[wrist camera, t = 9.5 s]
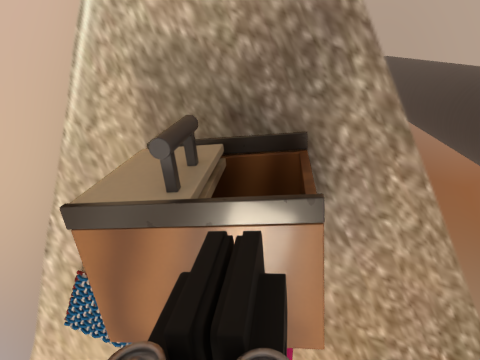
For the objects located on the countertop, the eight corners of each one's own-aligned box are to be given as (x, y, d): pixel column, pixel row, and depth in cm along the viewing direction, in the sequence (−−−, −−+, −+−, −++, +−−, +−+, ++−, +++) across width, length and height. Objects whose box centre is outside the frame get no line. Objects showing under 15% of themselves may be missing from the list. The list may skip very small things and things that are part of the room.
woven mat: (82, 261, 40) (72, 271, 38) (160, 294, 41) (154, 306, 39) (67, 315, 44) (58, 327, 43) (138, 344, 45) (132, 357, 43)
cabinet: (306, 131, 30) (324, 197, 17) (309, 237, 35) (325, 353, 22) (148, 142, 33) (58, 207, 20) (169, 240, 37) (108, 345, 24)
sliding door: (218, 102, 30) (176, 140, 18) (224, 151, 31) (189, 213, 20) (133, 110, 31) (43, 149, 19) (143, 156, 33) (67, 217, 21)
